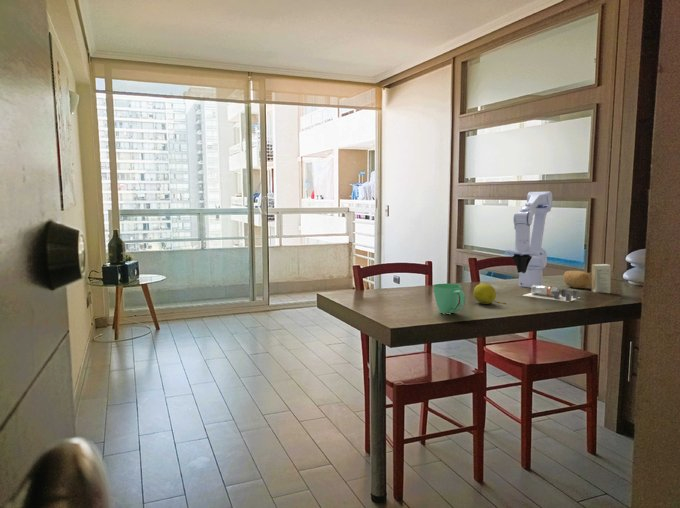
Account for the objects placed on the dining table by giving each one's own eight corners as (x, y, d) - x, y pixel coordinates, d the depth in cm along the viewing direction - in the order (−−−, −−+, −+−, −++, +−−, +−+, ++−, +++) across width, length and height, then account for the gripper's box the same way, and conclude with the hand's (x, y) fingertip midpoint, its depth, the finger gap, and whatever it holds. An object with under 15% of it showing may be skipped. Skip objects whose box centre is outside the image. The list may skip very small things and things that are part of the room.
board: (521, 297, 206) (521, 295, 206) (534, 293, 214) (534, 291, 214) (568, 303, 192) (568, 301, 192) (580, 299, 200) (580, 297, 200)
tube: (530, 294, 207) (530, 284, 207) (535, 293, 210) (535, 283, 209) (554, 297, 200) (554, 287, 199) (558, 296, 202) (559, 286, 202)
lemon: (499, 306, 191) (500, 285, 190) (480, 306, 190) (480, 286, 189) (488, 300, 202) (488, 280, 201) (469, 301, 201) (469, 281, 200)
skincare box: (606, 292, 213) (607, 263, 212) (610, 294, 209) (611, 265, 208) (590, 292, 214) (591, 263, 213) (594, 294, 210) (595, 265, 208)
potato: (574, 285, 232) (574, 268, 231) (597, 290, 218) (597, 272, 217) (556, 286, 229) (556, 269, 228) (578, 291, 216) (578, 273, 215)
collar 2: (565, 300, 194) (565, 292, 194) (574, 297, 200) (574, 290, 200) (569, 301, 193) (569, 293, 193) (578, 297, 199) (578, 290, 199)
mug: (427, 311, 184) (427, 284, 183) (450, 309, 188) (450, 282, 187) (451, 320, 170) (451, 291, 169) (475, 317, 174) (475, 288, 173)
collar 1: (554, 299, 198) (554, 291, 197) (563, 296, 203) (563, 288, 203) (557, 299, 197) (557, 291, 196) (566, 296, 202) (566, 289, 202)
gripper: (501, 240, 212) (501, 272, 214) (534, 241, 202) (533, 275, 203) (510, 239, 217) (509, 270, 218) (542, 240, 206) (541, 273, 208)
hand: (521, 272), depth 211 cm, fingers closed
